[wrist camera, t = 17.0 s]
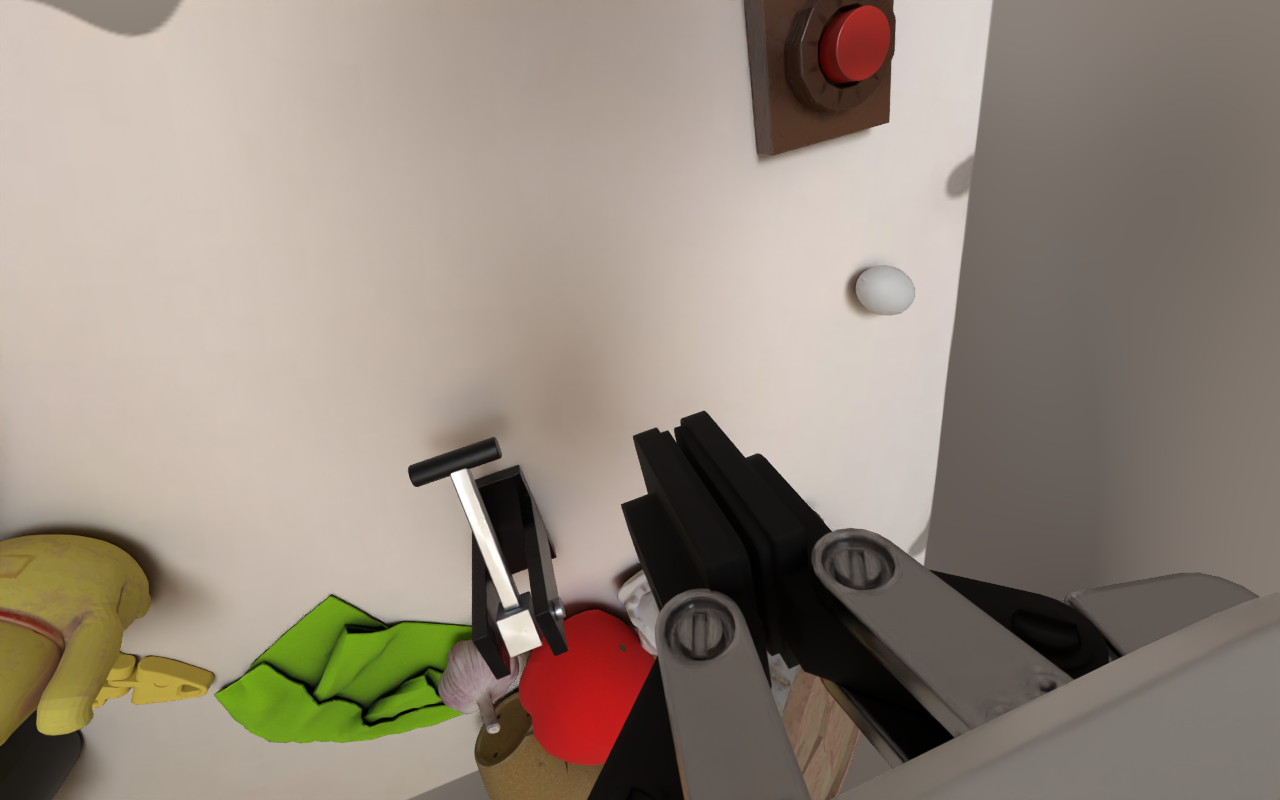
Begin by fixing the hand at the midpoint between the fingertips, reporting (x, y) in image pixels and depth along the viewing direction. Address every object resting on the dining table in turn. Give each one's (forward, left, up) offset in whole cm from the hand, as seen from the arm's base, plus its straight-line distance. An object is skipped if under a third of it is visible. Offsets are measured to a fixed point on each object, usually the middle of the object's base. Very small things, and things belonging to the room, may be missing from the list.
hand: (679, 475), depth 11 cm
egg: (+10, +27, -23) cm, 37 cm away
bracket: (+21, -9, -27) cm, 36 cm away
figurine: (+12, -36, -27) cm, 47 cm away
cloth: (+33, -26, -27) cm, 50 cm away
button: (-7, +21, -24) cm, 32 cm away
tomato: (+34, -4, -21) cm, 40 cm away
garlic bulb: (+34, -17, -26) cm, 46 cm away
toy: (+23, -44, -26) cm, 56 cm away
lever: (+16, -9, -19) cm, 27 cm away
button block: (-7, +21, -27) cm, 35 cm away
